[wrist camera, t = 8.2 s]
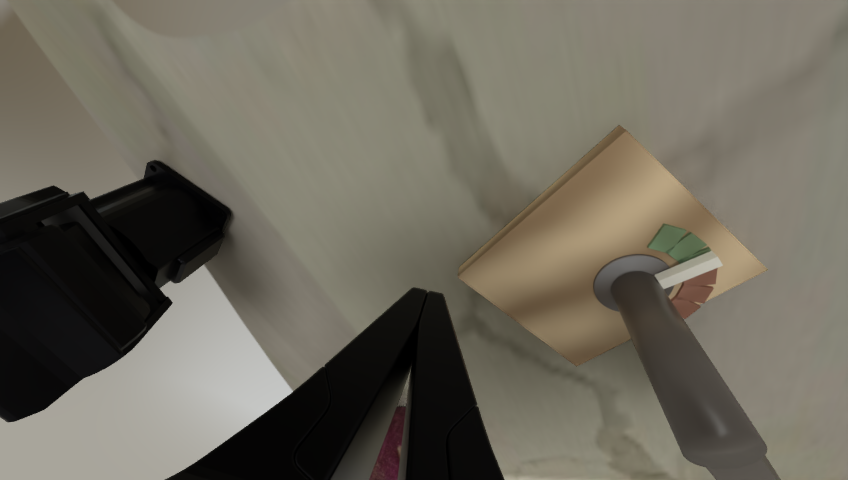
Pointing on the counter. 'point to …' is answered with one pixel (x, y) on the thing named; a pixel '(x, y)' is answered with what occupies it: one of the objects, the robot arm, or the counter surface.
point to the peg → (689, 376)
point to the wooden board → (602, 249)
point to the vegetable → (390, 449)
